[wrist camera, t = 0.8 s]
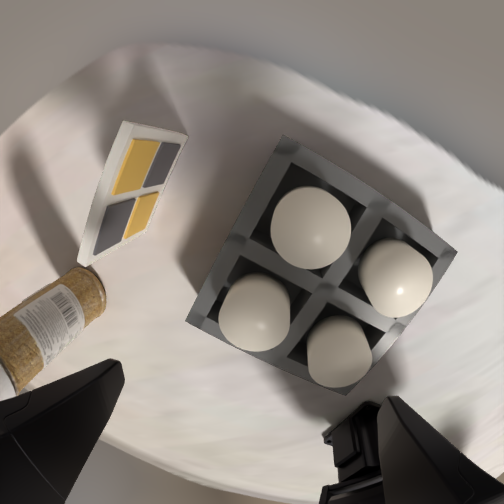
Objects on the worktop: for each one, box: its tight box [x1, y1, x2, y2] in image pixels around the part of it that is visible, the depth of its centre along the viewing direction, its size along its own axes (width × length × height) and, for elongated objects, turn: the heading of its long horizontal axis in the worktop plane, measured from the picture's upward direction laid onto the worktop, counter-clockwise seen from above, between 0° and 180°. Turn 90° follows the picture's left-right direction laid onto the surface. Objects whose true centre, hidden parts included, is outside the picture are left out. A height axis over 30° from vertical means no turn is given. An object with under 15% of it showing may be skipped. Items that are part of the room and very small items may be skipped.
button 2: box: [358, 238, 433, 318], centre depth 14 cm, size 4×4×2 cm
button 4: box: [271, 186, 351, 269], centre depth 14 cm, size 4×4×2 cm
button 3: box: [219, 272, 290, 352], centre depth 16 cm, size 4×4×2 cm
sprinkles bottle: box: [0, 267, 106, 401], centre depth 15 cm, size 5×5×13 cm
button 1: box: [307, 315, 372, 388], centre depth 16 cm, size 4×4×2 cm
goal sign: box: [77, 120, 188, 267], centre depth 15 cm, size 1×7×7 cm, turn 153°
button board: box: [185, 135, 457, 396], centre depth 17 cm, size 12×12×3 cm
